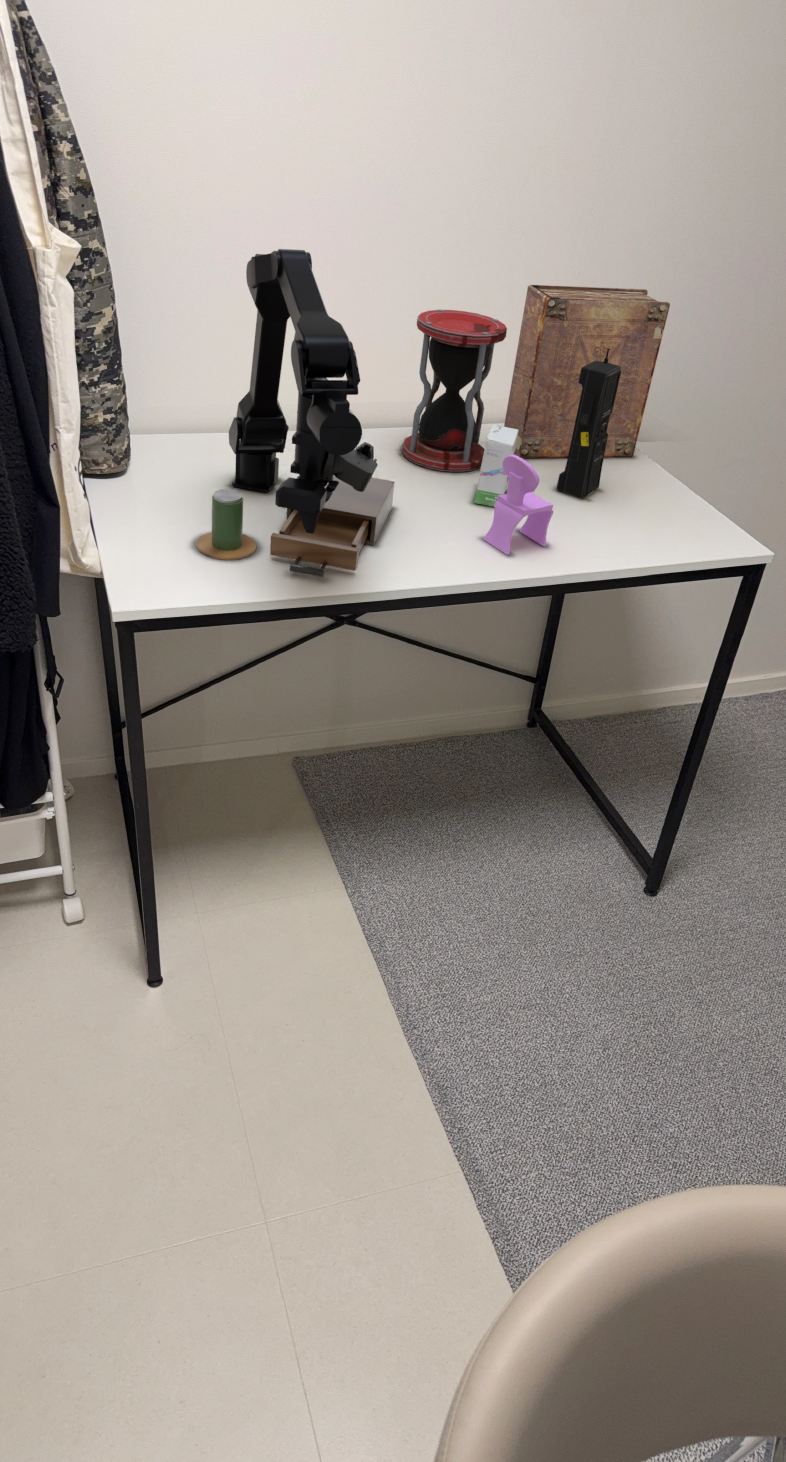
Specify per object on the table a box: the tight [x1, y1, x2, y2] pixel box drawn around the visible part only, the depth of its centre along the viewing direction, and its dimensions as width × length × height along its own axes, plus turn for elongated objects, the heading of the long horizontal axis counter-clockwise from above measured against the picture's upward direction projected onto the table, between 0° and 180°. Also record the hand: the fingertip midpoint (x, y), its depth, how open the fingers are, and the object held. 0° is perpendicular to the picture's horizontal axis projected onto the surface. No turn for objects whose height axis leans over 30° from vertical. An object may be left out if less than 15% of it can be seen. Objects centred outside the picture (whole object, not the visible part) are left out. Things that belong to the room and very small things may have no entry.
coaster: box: [196, 532, 257, 561], centre depth 160 cm, size 9×9×1 cm
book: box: [503, 284, 671, 459], centre depth 202 cm, size 25×9×30 cm, turn 107°
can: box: [211, 488, 244, 550], centre depth 157 cm, size 5×5×8 cm
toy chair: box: [483, 454, 554, 556], centre depth 168 cm, size 8×9×15 cm
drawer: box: [269, 510, 372, 578], centre depth 160 cm, size 18×13×3 cm
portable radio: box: [556, 348, 621, 500], centre depth 186 cm, size 8×6×25 cm
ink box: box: [473, 424, 519, 508], centre depth 183 cm, size 9×5×12 cm, turn 168°
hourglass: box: [401, 308, 508, 473], centre depth 193 cm, size 16×16×25 cm
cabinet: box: [285, 476, 395, 546], centre depth 171 cm, size 15×14×5 cm
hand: (310, 532), depth 151 cm, fingers closed
